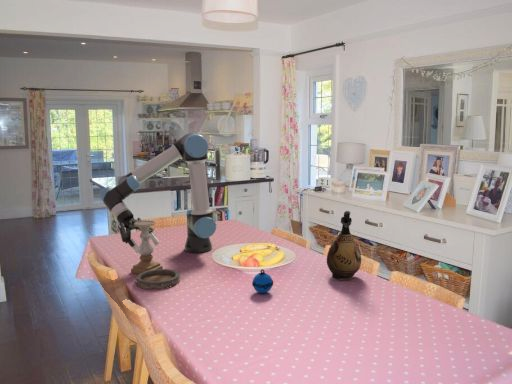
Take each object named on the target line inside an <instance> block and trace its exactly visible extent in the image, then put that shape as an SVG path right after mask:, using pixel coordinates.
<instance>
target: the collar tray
mask: <svg viewBox="0 0 512 384" xmlns="http://www.w3.org/2000/svg"><path fill="white" fill-rule="evenodd" d="M180 278H181V277H180V272H178V271H177V270H175V269H169V268H163V269H155V270H149V271H145V272H143V273H141V274H137V276H136V286H137V287H139V288H140V289H143V288H144V289H143V290H149V289H157V290H163V289H162V288H165V289H168V288H167V287H169V288H171V287H170V286H172V287H174V286H173V285H175V286H177V285H178V284H179V283H180V282H181V279H180ZM179 281H180V282H179ZM178 282H179V283H178ZM177 283H178V284H177ZM176 284H177V285H176Z"/></svg>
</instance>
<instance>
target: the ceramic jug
mask: <svg viewBox="0 0 512 384" xmlns="http://www.w3.org/2000/svg"><path fill="white" fill-rule="evenodd" d="M350 216H351V211H350V210H345V211H344V213H343V216H341V218H340V223H341V224H342V225H341V226H342V227H341V230H340V232H339V233H340V234H338V235H337V236H336V238H334V240H333V242H332V244H331V245H330V246H329V248H328V251H327V253H326V254H327V255H326V265H327V268H328V269H329V272H331V276H332V279H336V280H339V281H349V280H352V279H353V277H354V276H355V274H357V272H358V271H359V270H360V268H361V265H362V256H361V255H362V254H361V251H360V248H359V245H358V243H357V242H356V239H354V237H353V235H352V234H351V232H350V226H351V225H352V220H353V219H352V218H351V217H350Z"/></svg>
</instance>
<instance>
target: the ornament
mask: <svg viewBox="0 0 512 384" xmlns="http://www.w3.org/2000/svg"><path fill="white" fill-rule="evenodd" d="M265 271H266V270H265V269H261V270H260V272H259V273H257V274H256V275H255V276H254V277H253V279H252V283H251V284H252V287H253V288H254V290H255V291H256V292H258V293H260V294H265V293H266V294H267V293H268V292H269V291H271V289H272V287H273V286H274V280H273V278H272V277H271V275H269V274H268V273H266V272H265Z"/></svg>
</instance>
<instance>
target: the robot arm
mask: <svg viewBox="0 0 512 384" xmlns="http://www.w3.org/2000/svg"><path fill="white" fill-rule="evenodd" d="M208 151H209V143H208V141H207V139H206V138H205V137H204V135H201V134H200V133H193V132H192V133H186V134H185V135H182V137H181V138H179V139H178V140H176V141H175V142H173V143H172V144H171V147H169V148H167V149H165V150H164V151H162V152H161V153H159V154H158V155H156V156H154V157H153V158H151V159H150V160H148V161H146V162H145V163H144V164H141V165H139V166H138V167H137V168H134V169H133V170H132V171H130V172H128V173H127V174H126V175H122V176H121V177H119V179H118V182H117V185H116V186H114V187H112V186H105V187H104V188H103V189H101V190H100V191H99V194H98V195H99V198H100V199H101V201H102V202H103V204H104V205H105V206H106V207H107V209H108V210H109V211H110V213H111V214H112V215H113V216H114V218H116V221H117V222H118V225H117V229H119V233H120V234H119V235H120V237H121V241H122V243H125V244H128V245H129V246H130V247H131V248H132V249H133V251H134V252H135V253H136V254H138V253H139V251H140V248H139V246H140V245H139V244H137V243H136V241H135V240H134V238H132V231H133V230H139V231H140V232H141V230H140V229H139V227H135V226H134V225H133V224H134V223H135V222H138V221H143V220H142V219H141V218H140V217H138V218H136V219H135V217H134V213H133V212H132V211H131V210H130V209H129V207H128V206H127V205H126V204H125V202H124V200H125V199H126V198H128V197H129V196H131V195H132V194H134V193H135V192H136V191H138V189H140V188H141V187H142V185H141V184H142V183H143V182H144V181H146V180H148V179H150V178H151V177H152V176H155V174H157V173H159V172H161V171H162V170H163V169H165V168H167V167H168V166H170V165H172V164H173V163H176V162H177V161H178V160H184V162H185V163H187V165H188V174H189V175H188V176H189V183H190V191H191V192H190V193H191V202H192V208H191V209H187V210H186V215H185V216H186V228H187V229H186V230H187V231H186V232H187V235H186V236H187V238H186V240H185V243H184V251H185V252H188V253H194V254H197V253H198V254H199V253H206V252H209V251H211V250H212V249H213V244H212V241H211V239H210V237H212V236H213V235H214V234H215V233H216V231H217V223H216V221H215V219H214V210H213V209H212V208H211V207H210V200H209V199H210V197H209V189H208V180H207V172H206V169H207V168H206V162H207V160H208ZM154 231H155V228H153V226H150V229H149V234H150V235H151V236H150V238H149V240H151V242H152V243H153V244H154V246H155V247H157V246H158V245H159V244H160V240H159V239H158V238H157V236H156V234H154Z"/></svg>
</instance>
